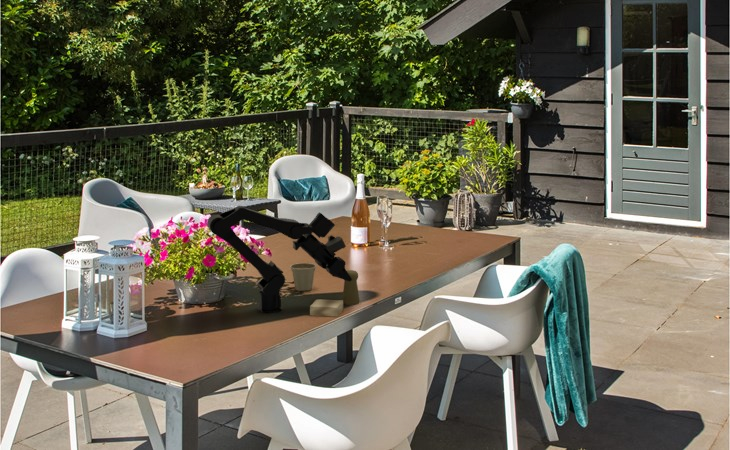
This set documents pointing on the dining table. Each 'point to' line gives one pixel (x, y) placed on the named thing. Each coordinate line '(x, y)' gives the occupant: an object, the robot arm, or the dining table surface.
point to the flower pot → (303, 276)
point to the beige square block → (326, 308)
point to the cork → (351, 289)
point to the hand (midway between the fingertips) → (347, 277)
